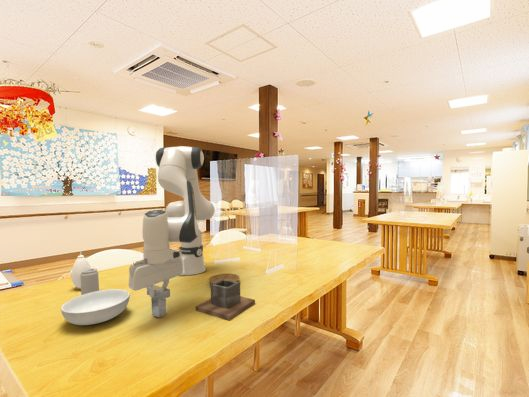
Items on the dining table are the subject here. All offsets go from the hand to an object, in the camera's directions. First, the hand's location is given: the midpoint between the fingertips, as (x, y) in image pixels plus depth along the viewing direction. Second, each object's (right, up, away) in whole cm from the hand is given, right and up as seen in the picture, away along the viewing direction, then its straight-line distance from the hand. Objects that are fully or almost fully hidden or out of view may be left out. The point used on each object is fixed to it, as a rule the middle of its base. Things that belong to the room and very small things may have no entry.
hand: (158, 294), depth 99 cm
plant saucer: (+19, -7, +33) cm, 39 cm away
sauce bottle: (-47, -8, +30) cm, 57 cm away
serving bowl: (-21, -9, 0) cm, 23 cm away
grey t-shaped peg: (0, -7, 0) cm, 7 cm away
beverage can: (-36, -8, +18) cm, 41 cm away
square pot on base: (+23, -7, +7) cm, 25 cm away
